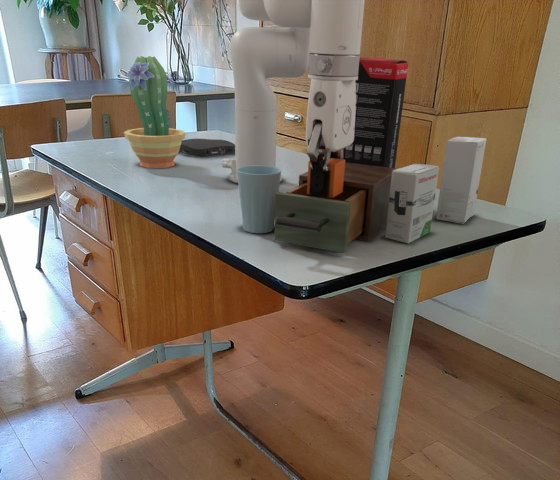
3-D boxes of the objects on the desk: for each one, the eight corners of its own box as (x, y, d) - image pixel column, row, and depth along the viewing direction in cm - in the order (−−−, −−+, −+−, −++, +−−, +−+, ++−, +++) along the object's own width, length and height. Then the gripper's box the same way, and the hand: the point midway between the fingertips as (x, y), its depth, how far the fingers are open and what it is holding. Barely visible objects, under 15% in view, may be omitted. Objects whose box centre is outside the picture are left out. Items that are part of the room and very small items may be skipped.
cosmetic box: (464, 224, 113) (479, 142, 106) (433, 219, 116) (446, 139, 108) (474, 215, 120) (489, 137, 112) (444, 210, 122) (457, 133, 115)
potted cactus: (116, 162, 154) (104, 54, 142) (166, 156, 163) (159, 54, 151) (146, 173, 145) (137, 57, 132) (198, 166, 154) (194, 57, 141)
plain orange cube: (306, 194, 97) (308, 161, 94) (317, 188, 100) (319, 156, 98) (332, 198, 95) (335, 164, 92) (342, 192, 99) (345, 159, 96)
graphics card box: (393, 201, 127) (411, 58, 114) (381, 208, 122) (398, 59, 108) (322, 190, 134) (331, 54, 121) (308, 196, 129) (315, 55, 116)
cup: (282, 224, 110) (283, 166, 105) (277, 236, 104) (278, 175, 98) (241, 221, 111) (241, 164, 105) (234, 234, 104) (233, 173, 99)
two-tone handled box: (332, 262, 90) (336, 211, 86) (260, 249, 95) (260, 200, 91) (372, 230, 105) (376, 185, 102) (308, 219, 110) (310, 176, 106)
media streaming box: (212, 146, 180) (212, 135, 178) (240, 154, 170) (240, 143, 169) (170, 150, 172) (169, 139, 170) (197, 158, 162) (196, 147, 160)
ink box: (406, 228, 110) (416, 161, 104) (430, 233, 108) (441, 165, 102) (383, 238, 104) (391, 168, 98) (407, 244, 102) (417, 173, 96)
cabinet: (367, 241, 103) (373, 184, 98) (296, 229, 108) (299, 175, 103) (393, 219, 115) (399, 168, 110) (328, 210, 120) (331, 160, 115)
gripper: (336, 72, 80) (327, 206, 90) (374, 67, 93) (363, 184, 103) (286, 69, 83) (282, 200, 92) (330, 64, 96) (323, 179, 105)
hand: (325, 190), depth 97 cm, fingers closed on plain orange cube, 4 cm apart
